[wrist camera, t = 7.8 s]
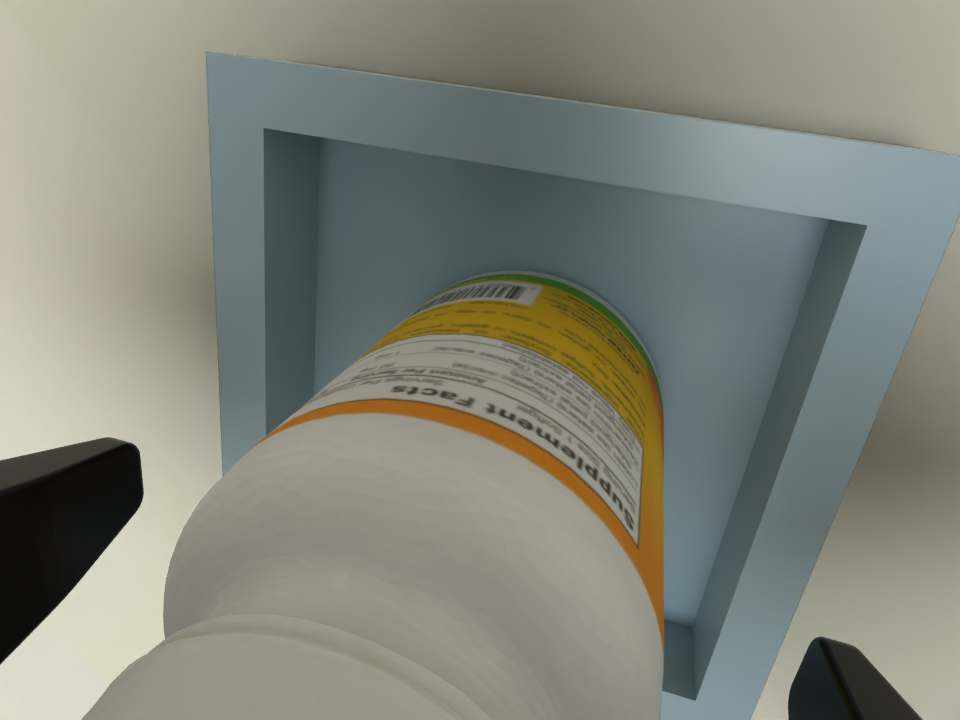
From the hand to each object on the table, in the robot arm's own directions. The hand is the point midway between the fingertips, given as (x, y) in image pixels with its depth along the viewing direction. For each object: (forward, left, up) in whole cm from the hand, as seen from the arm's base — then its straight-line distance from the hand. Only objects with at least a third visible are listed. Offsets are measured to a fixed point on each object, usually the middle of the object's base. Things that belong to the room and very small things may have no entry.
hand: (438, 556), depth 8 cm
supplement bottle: (0, 0, -5) cm, 5 cm away
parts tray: (0, 0, -6) cm, 6 cm away
